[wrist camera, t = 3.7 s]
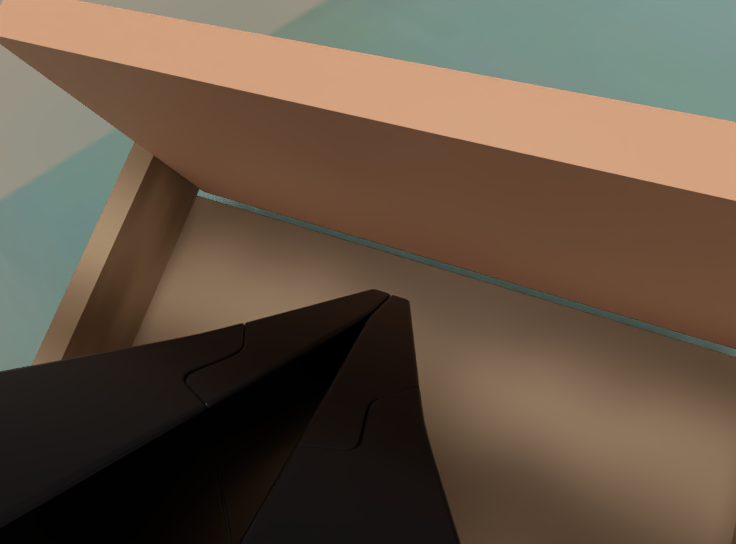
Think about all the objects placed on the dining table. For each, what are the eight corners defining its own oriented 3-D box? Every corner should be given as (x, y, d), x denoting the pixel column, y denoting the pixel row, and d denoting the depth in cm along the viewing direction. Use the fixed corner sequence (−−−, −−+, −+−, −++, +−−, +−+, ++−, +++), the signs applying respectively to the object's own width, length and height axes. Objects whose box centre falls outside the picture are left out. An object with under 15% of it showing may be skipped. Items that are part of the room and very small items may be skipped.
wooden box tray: (635, 796, 15) (877, 1362, 6) (103, 508, 21) (-146, 603, 12) (736, 342, 17) (1011, 312, 9) (234, 195, 23) (102, 89, 14)
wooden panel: (759, 355, 14) (1289, 324, 5) (203, 191, 19) (-15, 33, 10) (766, 318, 14) (1292, 224, 5) (215, 165, 19) (9, -13, 10)
